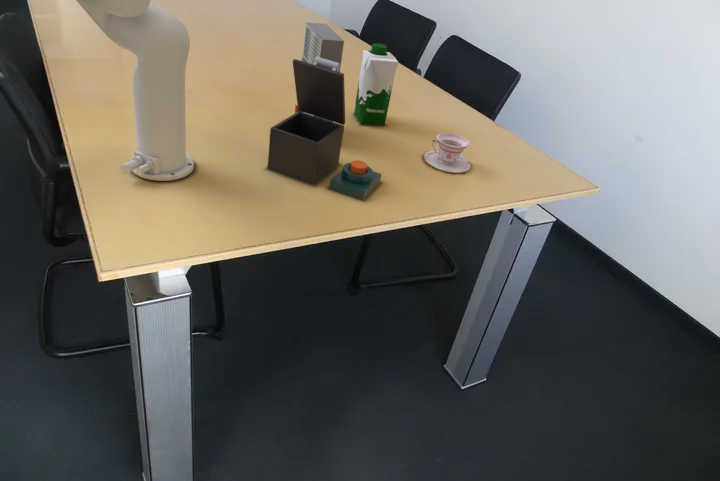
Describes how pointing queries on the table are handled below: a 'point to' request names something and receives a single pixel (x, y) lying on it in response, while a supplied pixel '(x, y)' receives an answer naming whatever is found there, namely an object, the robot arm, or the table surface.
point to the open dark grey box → (305, 147)
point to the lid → (320, 89)
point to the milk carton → (375, 85)
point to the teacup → (449, 153)
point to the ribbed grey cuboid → (321, 46)
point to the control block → (355, 182)
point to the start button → (358, 167)
